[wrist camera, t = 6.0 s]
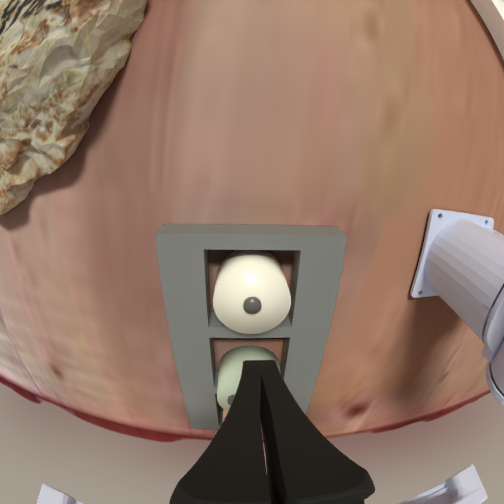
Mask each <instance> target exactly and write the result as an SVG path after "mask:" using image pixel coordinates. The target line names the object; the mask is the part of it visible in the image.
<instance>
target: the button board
mask: <svg viewBox="0 0 504 504" xmlns="http://www.w3.org/2000/svg"><path fill="white" fill-rule="evenodd" d="M155 235H156V245H157V254H158V262H159V270H160V278H161V285H162V292H163V299H164V305H165V311H166V317H167V323H168V328H169V334H170V339H171V344H172V349H173V354H174V358H175V363H176V368H177V372H178V376H179V381H180V385H181V389H182V393H183V397H184V401H185V405H186V408H187V412H188V416H189V419H190V423H191V426H192V428H197V429H216V430H219V429H220V427H221V425H222V423H223V411H219V403H218V401H217V388H218V373H219V371H215V362H214V350H213V338H284V345H283V352H282V359H281V367H280V372H281V376H282V378H283V380H284V382H285V384H286V385H287V387H288V389H289V391H290V392H291V394H292V396H293V397H294V399H295V401H296V402H297V404H298V405H299V407H300V408H301V409H302V411H303V412H304V414H305V415H306V412H307V409H308V406H309V403H310V400H311V396H312V393H313V390H314V386H315V383H316V380H317V376H318V373H319V369H320V365H321V362H322V358H323V354H324V350H325V346H326V342H327V338H328V334H329V330H330V326H331V321H332V317H333V312H334V308H335V303H336V298H337V293H338V288H339V283H340V278H341V273H342V267H343V261H344V255H345V249H346V243H347V235H346V234H345V233H344V232H343V231H341V230H340V229H339V228H338V227H333V226H301V225H254V224H163V226H162V227H161V228H160V229H159V230H158V232H157V233H156V234H155ZM208 249H212V250H294V256H293V266H292V276H291V286H290V295H291V306H290V310H289V312H288V314H287V316H286V317H285V319H284V320H283V321H282V322H281V323H280V324H279V325H278V326H276V327H275V328H273V329H271V330H269V331H266V332H263V333H257V334H245V333H240V332H236V331H234V330H232V329H230V328H228V327H226V326H225V325H224V324H223V323H222V322H221V321H220V320H219V319H218V317H217V316H216V313H215V311H211V309H210V292H209V272H208Z"/></svg>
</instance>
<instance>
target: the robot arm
mask: <svg viewBox="0 0 504 504" xmlns="http://www.w3.org/2000/svg"><path fill="white" fill-rule="evenodd" d="M439 214H440V216H439V217H438V215H439ZM493 225H494V219H493V218H491V217H486V216H480V215H474V214H468V213H461V212H454V211H447V210H440V209H432V210H431V212H430V214H429V219H428V224H427V229H426V234H425V239H424V243H423V247H422V251H421V256H420V259H419V263H418V267H417V271H416V274H415V278H414V281H413V285H412V288H411V291H410V295H411V296H412V297H413V298H420V297H430V296H439V297H440V298H442V299H443V300H444V301H445V302H446V303H447V304H448V305H449V306H450V307H451V308H452V309H453V311H454V312H455V313H456V314H457V315H458V316H459V317H460V318H461V319H462V320H463V321H464V322H465V323H466V324H467V325H468V326H469V327H470V328H471V329H472V330H473V332H474V333H475V334H476V335H477V336H478V337H479V338H480V339H481V340H482V342H483V343H484V348H483V351H482V354H483V355H484V357H485V358H486V359H487V360H488V361H489V362H488V365H487V368H486V380H487V384H488V387H489V389H490V391H491V393H492V395H493V396H494V397H495V399H496V400H497V401H498V402H499V403H500V404H501V405H503V406H504V235H502V234H501V233H499V232H497V231H495V230H493ZM419 291H420V292H419ZM260 421H261V422H260ZM261 427H262V432H261ZM262 433H263V439H264V445H265V452H266V465H267V474H266V466H265V458H264V450H263V441H262ZM374 491H375V487H374V484H373V481H372V479H371V477H370V475H369V473H368V472H367V470H365V469H364V468H362V467H361V466H359V465H357V464H356V463H355V462H353V461H352V460H350V459H349V458H348V457H347V456H345V455H344V454H343V453H342V452H340V451H339V450H338V449H337V448H336V447H335V446H333V444H331V443H330V442H329V441H328V440H327V439H326V438H325V437H324V436H323V435H322V434H321V433H320V432H319V431H318V429H317V428H316V427H315V426H314V425H313V424H312V422H311V421H310V420H309V419H308V418H307V416H306V415H305V414H304V412H303V411H302V409H301V408H300V407H299V405H298V404H297V402H296V401H295V399H294V397H293V396H292V394H291V392H290V391H289V389H288V387H287V385H286V384H285V382H284V380H283V378H282V376H281V374H280V371H279V369H278V366H277V364H276V361H274V360H245V361H243V367H242V373H241V378H240V382H239V385H238V388H237V391H236V394H235V397H234V399H233V402H232V404H231V406H230V409H229V411H228V413H227V415H226V417H225V419H224V421H223V423H222V425H221V427H220V429H219V430H218V432H217V434H216V435H215V437H214V438H213V440H212V442H211V443H210V445H209V446H208V448H207V449H206V451H205V452H204V453H203V454H202V456H201V457H200V458H199V459H198V461H197V462H196V463H195V465H194V466H193V467H192V468H191V469H190V470H189V471H188V472H187V474H185V476H184V477H183V478H182V479H181V480H180V481H179V482H178V484H177V486H176V488H175V489H174V492H173V494H172V496H171V499H170V503H169V504H364V499H366V498H368V497H369V496H370V495H372V494H373V493H374ZM486 499H487V495H486V492H485V490H484V487H483V485H482V483H481V480H480V478H479V476H478V474H477V472H476V469H475V467H474V465H473V464H471V465H470V466H468V467H466V468H465V469H463V470H461V471H460V472H458V473H456V474H455V475H453V476H452V477H451V478H449V479H448V480H446V482H444V483H442V484H440V485H438V486H436V487H434V488H432V489H430V490H428V491H426V492H424V493H422V494H419V495H417V496H415V497H413V498H410V499H408V500H405V501H403V502H400V503H398V504H481V503H482V502H483V501H485V500H486ZM37 504H85V503H82V502H80V501H77V500H75V499H74V498H73V497H71V496H69V495H68V494H66V493H63V492H62V491H59V490H57V489H55V488H53V487H51V486H49V485H47V484H45V483H43V484H42V487H41V491H40V494H39V497H38V501H37Z"/></svg>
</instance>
